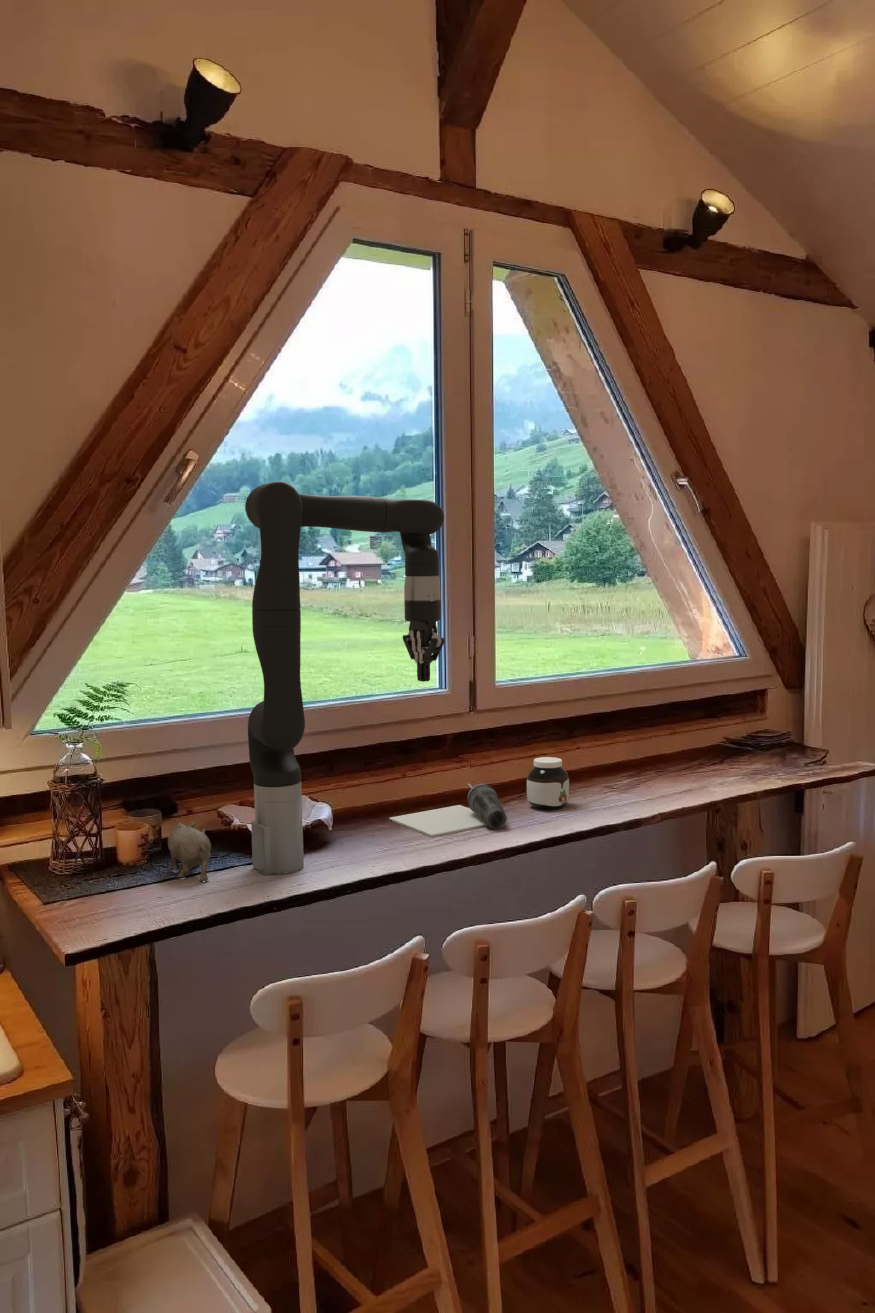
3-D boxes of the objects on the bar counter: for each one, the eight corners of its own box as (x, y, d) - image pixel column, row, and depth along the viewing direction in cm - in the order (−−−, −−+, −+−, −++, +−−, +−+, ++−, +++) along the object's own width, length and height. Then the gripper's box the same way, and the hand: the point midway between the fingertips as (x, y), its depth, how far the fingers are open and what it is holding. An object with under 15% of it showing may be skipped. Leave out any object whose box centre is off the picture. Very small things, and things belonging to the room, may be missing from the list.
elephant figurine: (169, 877, 186) (171, 802, 193) (164, 900, 197) (166, 828, 204) (212, 876, 188) (212, 802, 196) (205, 899, 199) (205, 828, 207)
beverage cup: (517, 810, 224) (492, 777, 243) (490, 800, 222) (466, 767, 241) (503, 839, 225) (479, 804, 244) (475, 828, 223) (453, 793, 242)
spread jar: (544, 813, 237) (544, 765, 236) (511, 805, 246) (511, 758, 245) (579, 805, 245) (579, 758, 244) (546, 797, 254) (545, 751, 253)
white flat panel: (431, 837, 219) (431, 835, 219) (389, 819, 234) (389, 817, 234) (504, 822, 230) (504, 820, 230) (459, 806, 245) (459, 804, 245)
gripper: (390, 597, 211) (391, 679, 213) (424, 599, 201) (426, 685, 202) (420, 596, 216) (421, 676, 217) (455, 598, 205) (456, 682, 206)
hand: (423, 681), depth 210 cm, fingers closed
